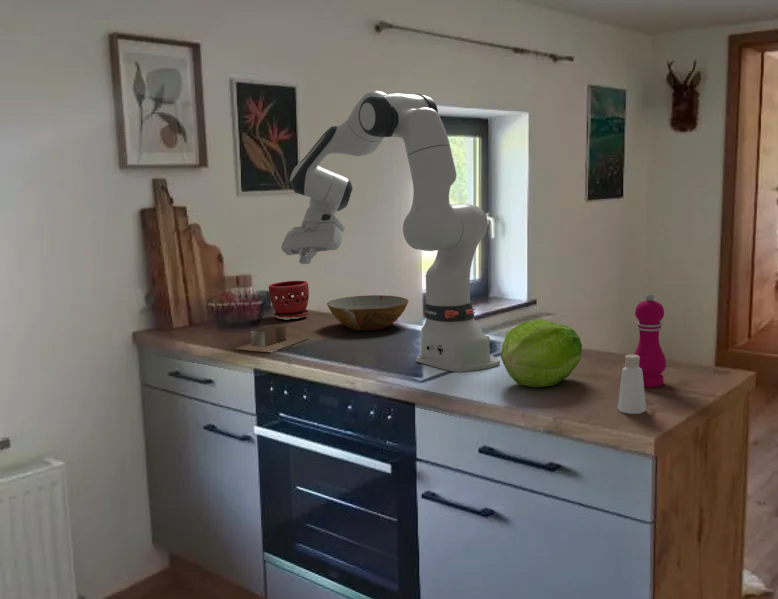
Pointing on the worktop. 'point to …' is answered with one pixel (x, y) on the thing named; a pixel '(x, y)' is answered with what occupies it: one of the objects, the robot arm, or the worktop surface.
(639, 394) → the pepper shaker
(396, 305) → the bowl
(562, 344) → the lettuce
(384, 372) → the worktop surface
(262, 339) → the block
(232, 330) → the worktop surface
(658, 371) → the pepper mill
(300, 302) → the plant pot
